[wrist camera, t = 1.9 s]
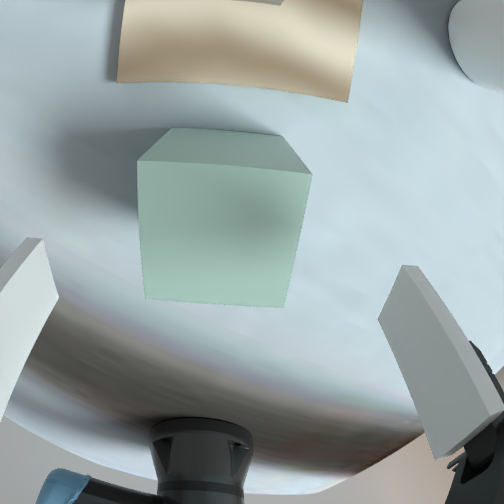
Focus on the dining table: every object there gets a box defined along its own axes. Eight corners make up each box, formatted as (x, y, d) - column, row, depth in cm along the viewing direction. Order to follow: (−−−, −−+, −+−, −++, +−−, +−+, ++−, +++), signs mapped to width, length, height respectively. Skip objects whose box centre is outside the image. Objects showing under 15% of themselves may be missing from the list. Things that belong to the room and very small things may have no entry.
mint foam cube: (267, 232, 23) (283, 307, 16) (169, 225, 22) (145, 298, 15) (282, 136, 19) (312, 174, 12) (172, 127, 18) (137, 160, 12)
